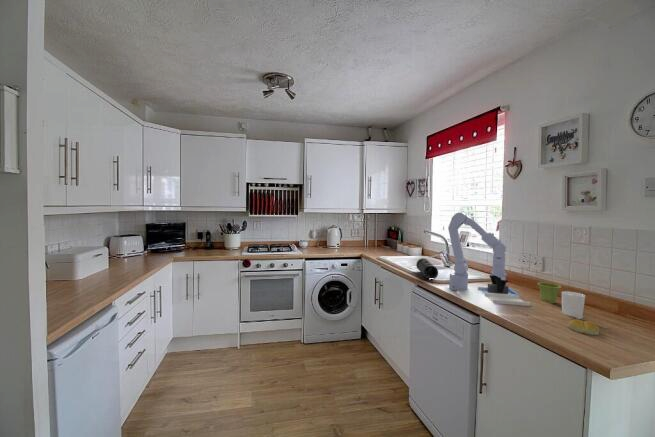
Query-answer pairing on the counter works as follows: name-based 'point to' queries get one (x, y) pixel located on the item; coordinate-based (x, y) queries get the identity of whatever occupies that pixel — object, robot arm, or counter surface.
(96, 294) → the counter surface
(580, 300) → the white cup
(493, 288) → the dark gray rectangular block
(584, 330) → the bread roll
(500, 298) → the tray
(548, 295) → the plant pot
